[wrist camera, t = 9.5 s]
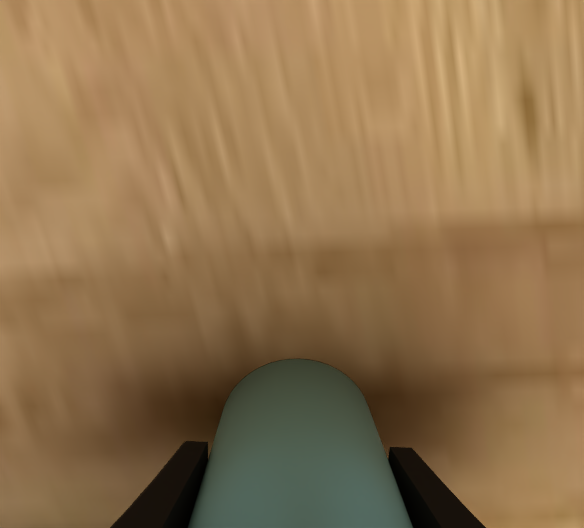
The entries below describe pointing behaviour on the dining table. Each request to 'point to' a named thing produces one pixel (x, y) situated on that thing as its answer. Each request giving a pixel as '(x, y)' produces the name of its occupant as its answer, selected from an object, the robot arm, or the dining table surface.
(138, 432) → the dining table surface
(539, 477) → the dining table surface
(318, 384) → the teal cylinder
